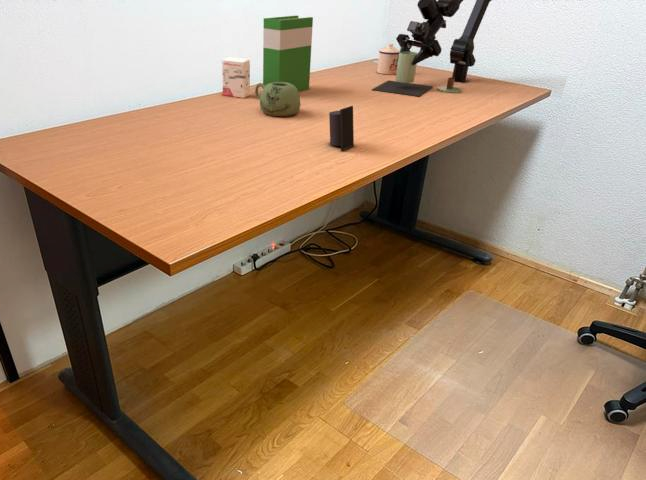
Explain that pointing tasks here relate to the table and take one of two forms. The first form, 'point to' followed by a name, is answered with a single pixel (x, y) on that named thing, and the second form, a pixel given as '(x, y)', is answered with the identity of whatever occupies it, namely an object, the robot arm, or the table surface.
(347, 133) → the speaker
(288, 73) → the hardback book
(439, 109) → the table surface
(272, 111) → the mug
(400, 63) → the canister
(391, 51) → the teacup with lid
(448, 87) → the lid
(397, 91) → the mat
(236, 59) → the ink box
